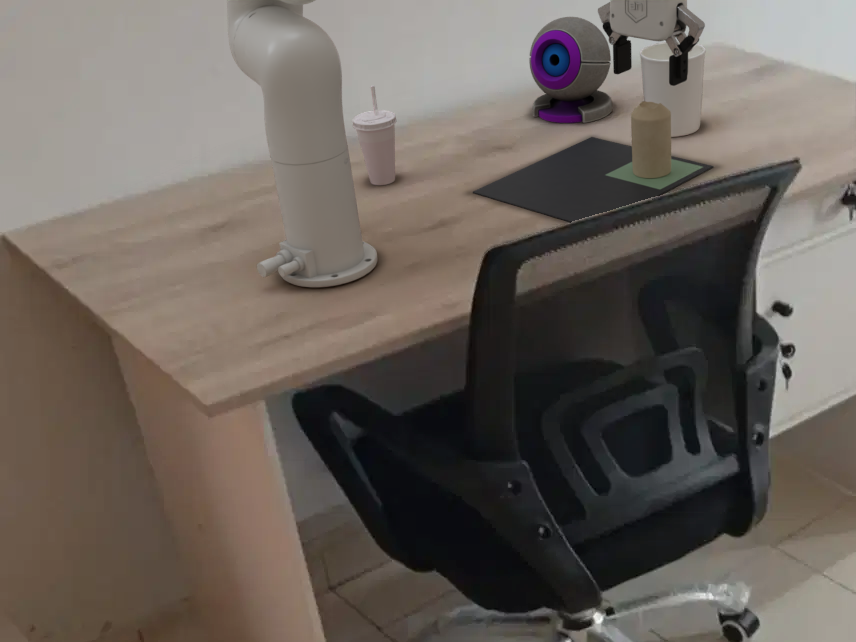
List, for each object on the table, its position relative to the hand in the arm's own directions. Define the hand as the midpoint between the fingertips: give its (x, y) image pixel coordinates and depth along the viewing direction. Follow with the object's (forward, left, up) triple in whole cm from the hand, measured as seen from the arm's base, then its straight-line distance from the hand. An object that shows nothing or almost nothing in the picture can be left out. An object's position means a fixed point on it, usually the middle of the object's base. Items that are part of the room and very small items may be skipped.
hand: (649, 77), depth 171 cm
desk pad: (-7, +5, -14) cm, 16 cm away
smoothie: (-24, +32, -14) cm, 42 cm away
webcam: (+14, +28, -14) cm, 34 cm away
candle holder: (+16, +9, -14) cm, 23 cm away
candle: (0, 0, -14) cm, 14 cm away
